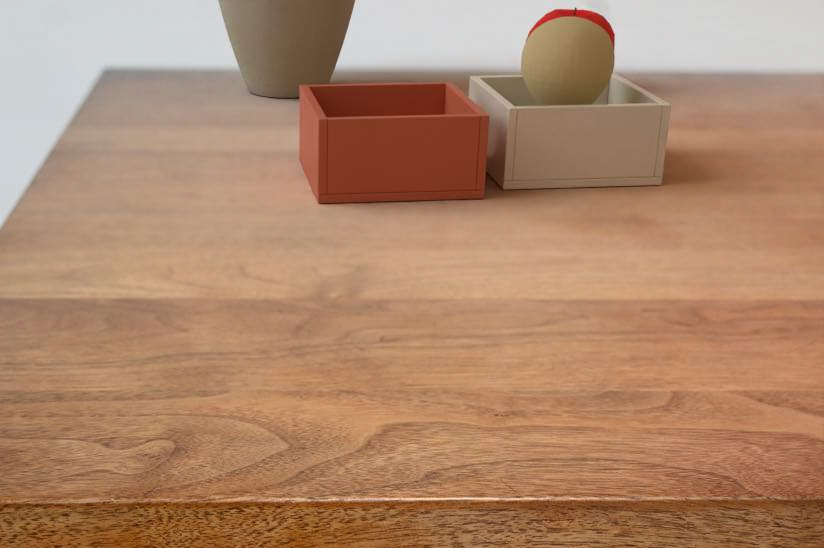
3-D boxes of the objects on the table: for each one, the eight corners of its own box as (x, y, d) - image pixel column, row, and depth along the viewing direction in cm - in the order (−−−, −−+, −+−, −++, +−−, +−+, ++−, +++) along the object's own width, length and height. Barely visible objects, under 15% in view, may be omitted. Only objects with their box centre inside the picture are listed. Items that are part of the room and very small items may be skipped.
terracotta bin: (447, 156, 94) (451, 81, 92) (484, 198, 84) (489, 115, 81) (299, 160, 93) (299, 84, 91) (317, 203, 83) (318, 119, 80)
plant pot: (184, 82, 120) (178, -96, 113) (326, 70, 125) (328, -100, 119) (240, 113, 107) (237, -84, 101) (395, 99, 113) (401, -89, 106)
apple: (507, 89, 116) (513, 7, 113) (550, 77, 122) (556, -2, 119) (585, 101, 112) (593, 16, 109) (626, 88, 117) (634, 6, 114)
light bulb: (496, 158, 91) (505, 16, 87) (549, 143, 95) (560, 7, 91) (569, 174, 87) (583, 27, 83) (621, 158, 91) (637, 17, 87)
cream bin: (607, 145, 97) (615, 72, 95) (661, 185, 87) (671, 104, 84) (465, 149, 96) (469, 75, 94) (503, 189, 86) (508, 108, 83)
